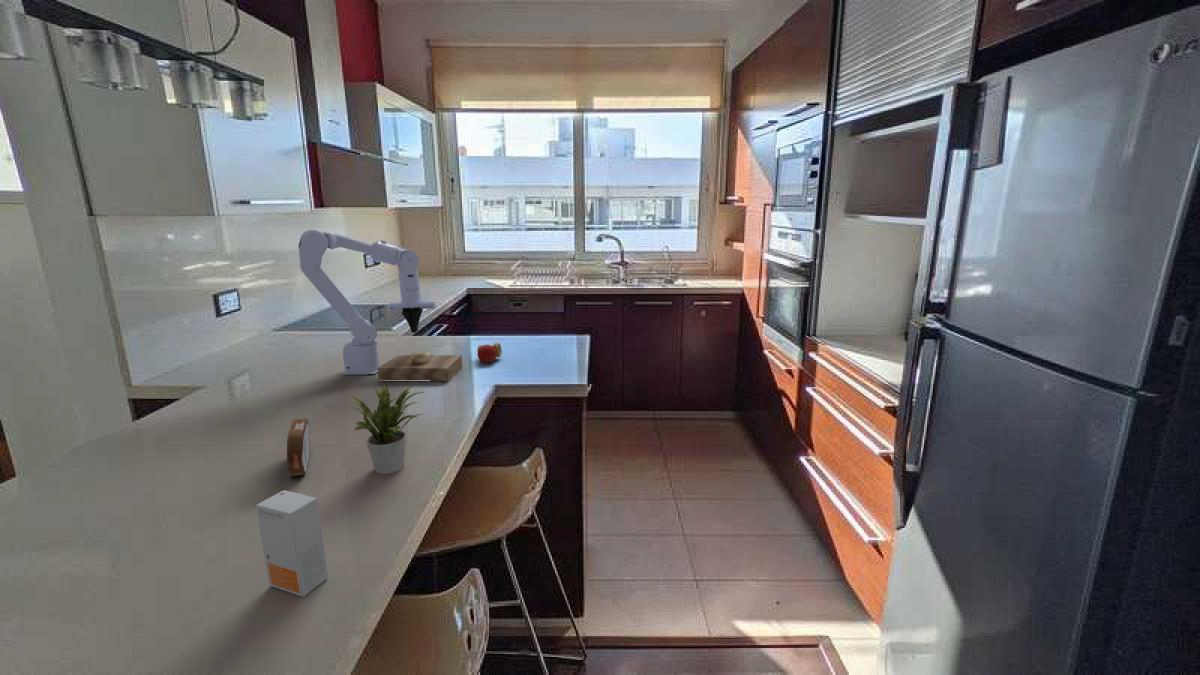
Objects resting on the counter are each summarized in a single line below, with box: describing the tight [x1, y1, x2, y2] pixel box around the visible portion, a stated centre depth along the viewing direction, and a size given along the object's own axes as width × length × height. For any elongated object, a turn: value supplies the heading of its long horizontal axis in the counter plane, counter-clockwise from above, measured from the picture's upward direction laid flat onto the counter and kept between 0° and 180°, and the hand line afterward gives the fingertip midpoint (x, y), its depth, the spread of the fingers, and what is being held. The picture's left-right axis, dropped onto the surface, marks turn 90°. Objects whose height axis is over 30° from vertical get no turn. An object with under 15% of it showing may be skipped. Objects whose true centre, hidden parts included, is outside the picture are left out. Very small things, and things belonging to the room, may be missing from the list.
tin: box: [286, 418, 311, 478], centre depth 104 cm, size 15×3×8 cm, turn 23°
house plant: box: [346, 383, 425, 475], centre depth 101 cm, size 14×14×16 cm
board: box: [377, 354, 463, 382], centre depth 161 cm, size 20×14×4 cm
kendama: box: [476, 342, 503, 364], centre depth 179 cm, size 8×6×18 cm
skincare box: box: [255, 489, 329, 598], centre depth 70 cm, size 6×4×12 cm
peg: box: [410, 350, 431, 364], centre depth 161 cm, size 5×5×6 cm
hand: (414, 331), depth 171 cm, fingers closed
